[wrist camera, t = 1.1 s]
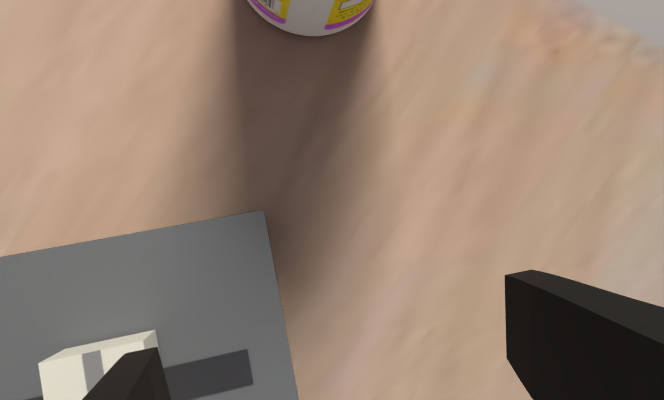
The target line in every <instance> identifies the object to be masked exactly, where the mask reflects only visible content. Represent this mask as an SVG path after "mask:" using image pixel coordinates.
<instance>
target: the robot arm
mask: <svg viewBox="0 0 664 400" xmlns="http://www.w3.org/2000/svg"><path fill="white" fill-rule="evenodd" d="M505 308H506V348H507V359H508V361H509V363H510V364H511V366H512V368H513V369H514V371H515V372H516V374H517V376H518V377H519V379H520V381H521V382H522V384H523V385H524V387H525V388H526V390H527V391H528V393H529V394H530V396H531V397H532V399H533V400H664V307H660V306H656V305H653V304H649V303H646V302H642V301H639V300H635V299H632V298H629V297H625V296H622V295H619V294H616V293H612V292H609V291H606V290H603V289H599V288H596V287H593V286H590V285H586V284H583V283H580V282H577V281H574V280H570V279H567V278H563V277H560V276H556V275H553V274H549V273H545V272H541V271H535V270H528V271H523V272H518V273H513V274H508V275H505ZM82 400H171V397H170V393H169V389H168V385H167V381H166V378H165V374H164V370H163V366H162V362H161V358H160V354H159V350H158V347H153V348H149V349H144V350H139V351H134V352H129V353H125V354H124V355H123V356H122V357H121V358H120V359H119V360H118V361H117V362H116V363H115V364H114V365H113V366H112V367H111V368H110V369H109V370H108V372H107V373H106V374H105V375H104V376H103V377H102V378H101V379H100V380H99V381H98V383H97V384H96V385H95V386H94V387H93V388H92V389H91V390H90V391H89V392H88V394H87V395H86V396H85V397H84V398H83V399H82Z"/></svg>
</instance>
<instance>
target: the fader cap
mask: <svg viewBox="0 0 664 400" xmlns="http://www.w3.org/2000/svg"><path fill="white" fill-rule="evenodd" d="M153 347H158V342H157V336H156V330H151V331H146V332H141V333H137V334H132V335H127V336H123V337H118V338H113V339H109V340H104V341H99V342H95V343H90V344H85V345H81V346H76V347H71V348H67V349H64V350H62V351H60V352H58V353H56V354H55V355H53V356H51V357H49V358H47V359H45V360H43V361H42V362H40V363H38V366H39V372H40V379H41V386H42V392H43V399H44V400H82V399H83V398H84V397H85V396H86V395H87V394H88V392H89V391H90V390H91V389H92V388H93V387H94V386H95V385H96V384H97V383H98V381H99V380H100V379H101V378H102V377H103V376H104V375H105V374H106V373H107V372H108V370H109V369H110V368H111V367H112V366H113V365H114V364H115V363H116V362H117V361H118V360H119V359H120V358H121V357H122V356H123V355H124V354H125V353H129V352H134V351H139V350H144V349H149V348H153ZM158 350H159V348H158Z"/></svg>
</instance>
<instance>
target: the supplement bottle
mask: <svg viewBox="0 0 664 400" xmlns="http://www.w3.org/2000/svg"><path fill="white" fill-rule="evenodd" d="M247 1H248V2H249V4H250V5H251V6H252V7H253V9H254V10H255V11H256V12H257V13H258V14H259V15H260V16H261V17H263V18H264V19H265V20H267V21H268V22H269V23H271V24H273V25H274V26H276V27H278V28H280V29H282V30H285V31H287V32H290V33H294V34H298V35H304V36H324V35H329V34H333V33H337V32H339V31H342V30H344V29H346V28H348V27H350V26H351V25H353V24H355V23H356V22H357V21H358V20H360V19H361V18H362V17H363V16H364V15H365V13H366V12H367V11H368V10H369V9H370V7H371V6H372V4H373V3H374V1H375V0H247Z"/></svg>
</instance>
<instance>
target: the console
mask: <svg viewBox="0 0 664 400" xmlns="http://www.w3.org/2000/svg"><path fill="white" fill-rule="evenodd" d="M151 330H156V336H157V342H158V348H159V354H160V358H161V362H162V366H163V370H164V374H165V378H166V381H167V385H168V389H169V393H170V397H171V400H299V398H298V393H297V387H296V382H295V377H294V371H293V366H292V360H291V355H290V350H289V344H288V339H287V333H286V328H285V323H284V317H283V312H282V306H281V301H280V295H279V290H278V285H277V279H276V274H275V268H274V263H273V258H272V252H271V247H270V241H269V236H268V231H267V225H266V220H265V214H264V210H260V211H254V212H249V213H243V214H238V215H232V216H227V217H221V218H215V219H210V220H204V221H199V222H193V223H187V224H182V225H176V226H171V227H165V228H160V229H154V230H148V231H143V232H137V233H132V234H126V235H121V236H115V237H109V238H104V239H98V240H93V241H87V242H82V243H76V244H70V245H65V246H59V247H54V248H48V249H43V250H37V251H31V252H26V253H20V254H15V255H9V256H3V257H0V400H44V399H43V392H42V386H41V379H40V372H39V366H38V363H40V362H42V361H43V360H45V359H47V358H49V357H51V356H53V355H55V354H56V353H58V352H60V351H62V350H64V349H67V348H71V347H76V346H81V345H85V344H90V343H95V342H99V341H104V340H109V339H113V338H118V337H123V336H127V335H132V334H137V333H141V332H146V331H151Z"/></svg>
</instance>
